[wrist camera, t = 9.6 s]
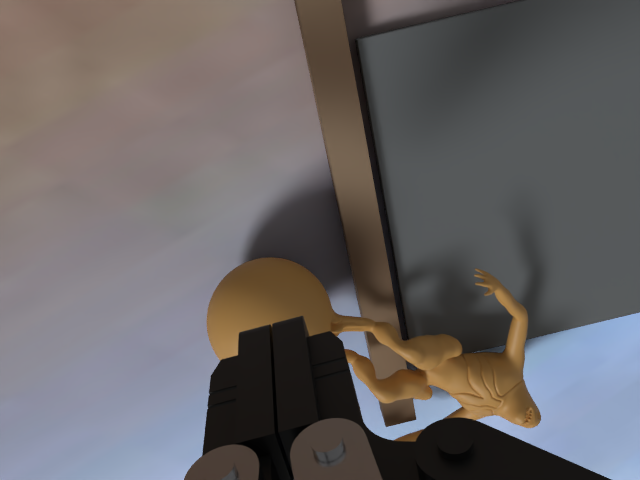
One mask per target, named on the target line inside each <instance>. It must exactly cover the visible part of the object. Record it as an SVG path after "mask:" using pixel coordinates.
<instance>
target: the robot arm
mask: <svg viewBox="0 0 640 480" xmlns="http://www.w3.org/2000/svg"><path fill="white" fill-rule="evenodd" d="M209 394H210V396H209V399H208V409H207V417H206V427H205V436H204V445H203V455H202V457H200V458H199V459H198V460H197V461H196V462H195V463H194V464H193V465H192V466H191V468H190V469H189V470H188V472H187V474H186V476H185V478H184V480H611V479H609V478H606V477H604V476H602V475H599V474H597V473H595V472H593V471H590V470H588V469H586V468H583V467H581V466H579V465H577V464H574V463H572V462H570V461H568V460H565V459H563V458H561V457H558V456H556V455H554V454H552V453H549V452H547V451H545V450H542V449H540V448H538V447H536V446H533V445H531V444H529V443H526V442H524V441H522V440H520V439H517V438H515V437H513V436H510V435H508V434H506V433H504V432H501V431H499V430H497V429H494V428H492V427H490V426H488V425H485V424H483V423H481V422H478V421H476V420H473V419H468V418H461V417H454V418H446V419H442V420H439V421H436V422H434V423H432V424H431V425H429V426H427V427H426V428H425V429H424V430H423V431H422V432H421V433H420V434H419V436H418V437H417V439H416V441H393V440H388V439H385V438H382V437H379V436H377V435H375V434H374V433H373V432H371V431H370V430H369V429H368V428H367V427H366V425H365V424H364V422H363V419H362V415H361V411H360V407H359V403H358V399H357V395H356V392H355V388H354V384H353V380H352V376H351V373H350V369H349V365H348V361H347V357H346V354H345V350H344V346H343V342H342V341H341V340H340V339H339V338H338V337H337V336H335V335H334V334H333V333H332V332H331V331H328V332H324V333H320V334H316V335H312V336H309V333H308V330H307V326H306V323H305V320H304V317H303V316H299V317H295V318H292V319H288V320H284V321H280V322H276V323H273V324H272V326H271V325H270V324H269V325H265V326H261V327H258V328H254V329H250V330H246V331H242V332H239V339H238V355H237V356H233V357H229V358H225V359H221V361H220V362H219V364H218V366H217V367H216V369H215V370H214V372H213V374H212V375H211V380H210V389H209Z"/></svg>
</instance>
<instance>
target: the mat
mask: <svg viewBox="0 0 640 480" xmlns="http://www.w3.org/2000/svg"><path fill="white" fill-rule="evenodd" d="M355 40H356V46H357V52H358V58H359V63H360V69H361V75H362V80H363V86H364V92H365V98H366V103H367V109H368V115H369V121H370V126H371V132H372V138H373V143H374V149H375V155H376V161H377V166H378V172H379V178H380V184H381V189H382V195H383V201H384V206H385V212H386V218H387V224H388V229H389V235H390V241H391V247H392V252H393V258H394V264H395V269H396V275H397V281H398V287H399V292H400V298H401V304H402V310H403V315H404V321H405V327H406V332H407V338H408V340H409V339H411V338H414V337H417V336H424V335H439V334H446V335H449V336H452V337H454V338H456V339H457V340H458V341H459V342H460V343H461V345H462V353H461V354H463V353H472V352H477V351H481V350H485V349H489V348H493V347H497V346H502V345H506V343H507V338H508V333H509V329H510V325H511V321H512V318H513V316H512V315H511V314H510V313H509V312H508V311H507V309H506V308H505V307H504V306H503V305H502V304H501V303H500V302H499V301H498V299H497V298H496V296H495V293H492V294H491V295H487V296H485V295H484V294H485V293H486V292H487V291H488V288H487V287H483V286H480V285H476V284H475V283H476V282H484V280H483V279H481V278H478V277H476V276H474V274H481V275H483V274H482V273H480V272H478V271H476V270H475V269H480V270H483V271H485V272H488V273H489V274H491V275H492V276H494V277H495V278H496V279H498V280H499V281H500V283H501V284H502V285H503V286H504V287H505V288H506V289H508V290H509V291H510V293H511V294H512V296H513V297H514V299H515V300H516V301H517V302H519V303H520V304H521V305H523V306H524V307H525V309H526V311H527V314H528V329H527V337H526V339H531V338H535V337H539V336H543V335H547V334H551V333H556V332H560V331H564V330H568V329H572V328H576V327H581V326H585V325H589V324H593V323H597V322H601V321H605V320H610V319H614V318H618V317H622V316H626V315H630V314H635V313H639V312H640V0H520V1H515V2H511V3H507V4H503V5H498V6H494V7H490V8H485V9H481V10H477V11H472V12H468V13H464V14H460V15H455V16H451V17H447V18H442V19H438V20H434V21H429V22H425V23H421V24H417V25H412V26H408V27H404V28H399V29H395V30H391V31H387V32H382V33H378V34H374V35H369V36H365V37H361V38H356V39H355Z"/></svg>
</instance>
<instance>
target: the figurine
mask: <svg viewBox="0 0 640 480" xmlns="http://www.w3.org/2000/svg"><path fill="white" fill-rule="evenodd" d="M475 270H476V271H478V272H480V273H482V274H483V275H481V274H474V276H476V277H478V278H481V279H483V280H484V282H476V283H475V284H476V285H480V286H483V287H487V288H488V291H487V292H486V293H485V294H484V295H485V296H487V295H491V294H492V293H495V296H496V298H497V299H498V301H499V302H500V303H501V304H502V305H503V306H504V307H505V308H506V309H507V311H508V312H509V313H510V314H511V315H512V316H513V318H512V321H511V325H510V329H509V333H508V338H507V343H506V347H505V350H504V351H503V352H502V353H495V352H478V353H463V354H461V353H462V345H461V343H460V342H459V341H458V340H457V339H456V338H454V337H452V336H449V335H446V334H439V335H424V336H417V337H414V338H411V339H409V340H407V341H403V340H401V339H400V338H399V336H398V333H397V331H396V329H395V328H394V327H393V326H392V325H391V324H389V323H387V322H375V321H373V320H371V319H369V318H362V317H352V316H343V315H339V314H337V313H335V312H334V310H333V309H332V306H331V303H330V300H329V297H328V294H327V292H326V290H325V288H324V287H323V285H322V284H321V282H320V281H319V280H318V279H317V278H316V277H315V275H313V274H312V273H311V272H310V271H309V270H308V269H306V268H305V267H303V266H301V265H300V264H298V263H295V262H293V261H290V260H287V259H282V258H274V257H267V258H259V259H255V260H251V261H248V262H246V263H244V264H242V265H240V266H238V267H236V268H235V269H233V270H232V271H231V272H230V273H228V274H227V275H226V276H225V277H224V278H223V280H222V281H221V282H220V283H219V285H218V286H217V288H216V289H215V291H214V293H213V295H212V298H211V300H210V303H209V307H208V312H207V331H208V336H209V340H210V343H211V346H212V348H213V350H214V352H215V354H216V355H217V357H218V358H219V360H220V361H221V359H225V358H229V357H233V356H237V355H238V339H239V332H242V331H246V330H250V329H254V328H258V327H261V326H265V325H269V324H270V325H271V326H272V324H273V323H276V322H280V321H284V320H288V319H292V318H295V317H299V316H303V317H304V320H305V323H306V326H307V330H308V333H309V336H312V335H316V334H320V333H324V332H328V331H331V332H332V333H333V334H334V335H335V336H338V335H339V333H341V332H345V331H370V332H372V333H373V334H374V335H375V337H376V339H377V340H378V341H379V342H380V343H382V344H384V345H386V346H388V347H390V348H391V349H392V350H393V351H395V352H396V353H397V354H399V355H400V356H402V357H403V358H404V359H405V360H407V361H408V362H410V363H412V364H413V365H414V366H416V367H417V368H418V369H417V370H415V371H413V370H410V369H401V370H398V371H396V372H395V373H393V374H392V375H391V376H389V377H387V378H385V379H377V378H376V373H375V368H374V366H373V364H372V362H371V361H370V360H369V359H368V358H367V357H364V356H361V355H359V354H357V353H356V352H354V351H352V350H348V349H344V350H345V354H346V357H347V361H348V363H351V364H352V367H353V370H354V373H355V374H356V376H357V377H358V378H359V379H360V380H361V381H362V382H364V383H365V384H366V385H367V387H368V388H369V389H370V391H371V392H372V393H373V394H374V395H375V396H376V398H377V399H378V400H379V401H380V402H382V403H392V402H394V401H396V400H402V399H409V398H415V399H421V400H427V399H430V398H431V397H432V389H431V388H430V387H429V385H434V386H436V387H439V388H441V389H443V390H445V391H447V392H448V393H449V394H450V395H451V396H452V397H453V398H455V399H457V400H458V402H459V403H460V404H461V405H462V407H461V408H459V409H458V410H456V411H455V412H453V413H452V414H450V415H448V416H447V417H445V418H444V419H446V418H454V417H461V418H468V419H473V420H477V419H480V418H483V417H486V416H493V415H497V416H501V417H502V418H504V419H506V420H508V421H510V422H511V423H514V424H517V425H520V426H523V427H526V428H533V427H535V426H537V425H538V424H539V423H540V420H541V415H540V412H539V409H538V408H537V406H536V404H535V403H534V401H533V399H532V398H531V396H530V394H529V392H528V390H527V388H526V385H525V381H524V379H523V367H524V361H525V352H524V346H525V341H526V337H527V329H528V314H527V311H526V309H525V307H524V306H523V305H521V304H520V303H519V302H517V301H516V300H515V299H514V297H513V296H512V294H511V293H510V291H509V290H508V289H506V288H505V287H504V286H503V285H502V284H501V283H500V281H499V280H498V279H496V278H495V277H494V276H492V275H491V274H489V273H488V272H485V271H483V270H480V269H475ZM423 430H424V429H422V430H419V431H416V432H413V433H410V434H407V435H404V436H402V437H400V438H397V439H395V440H394V441H416V439H417V437H418V436H419V434H420V433H421V432H422V431H423Z"/></svg>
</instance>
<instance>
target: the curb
mask: <svg viewBox="0 0 640 480" xmlns="http://www.w3.org/2000/svg"><path fill="white" fill-rule="evenodd" d="M294 1H295V6H296V11H297V16H298V20H299V25H300V30H301V34H302V39H303V44H304V49H305V53H306V58H307V63H308V68H309V72H310V77H311V82H312V87H313V91H314V96H315V101H316V106H317V110H318V115H319V120H320V124H321V129H322V134H323V139H324V143H325V148H326V153H327V158H328V162H329V167H330V172H331V177H332V181H333V186H334V191H335V196H336V200H337V205H338V210H339V214H340V219H341V224H342V229H343V233H344V238H345V243H346V248H347V252H348V257H349V262H350V267H351V271H352V276H353V281H354V285H355V290H356V295H357V300H358V304H359V309H360V314H361V317H362V318H369V319H371V320H373V321H375V322H387V323H389V324H391V325H392V326H393V327H394V328H395V329H396V331H397V333H398V336H399V338H400V339H401V340H402V337H401V331H400V326H399V320H398V315H397V309H396V303H395V298H394V292H393V287H392V281H391V276H390V270H389V264H388V259H387V253H386V248H385V242H384V237H383V231H382V226H381V220H380V214H379V209H378V203H377V198H376V192H375V187H374V181H373V175H372V170H371V164H370V159H369V153H368V148H367V142H366V136H365V131H364V125H363V120H362V114H361V109H360V103H359V97H358V92H357V86H356V81H355V75H354V70H353V64H352V58H351V53H350V47H349V42H348V36H347V31H346V25H345V20H344V14H343V8H342V3H341V0H294ZM364 333H365V338H366V342H367V347H368V352H369V357H370V361H371V362H372V364H373V366H374V368H375V373H376V378H377V379H385V378H387V377H389V376H391V375H392V374H393V373H395V372H396V371H398V370H401V369H407V365H406V360H405V359H404V358H403V357H402V356H400V355H399V354H397V353H396V352H395V351H393V350H392V349H391V348H390V347H388V346H386V345H384V344H382V343H380V342H379V341H378V340H377V339H376V337H375V335H374V334H373V333H372V332H370V331H364ZM379 404H380V409H381V412H382V416H383V419H384V422H385V425H386V427H388V426H392V425H396V424H400V423H404V422H409V421H413V420H416V415H415V409H414V404H413V398H409V399H402V400H396V401H394V402H392V403H382V402H380V401H379Z"/></svg>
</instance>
